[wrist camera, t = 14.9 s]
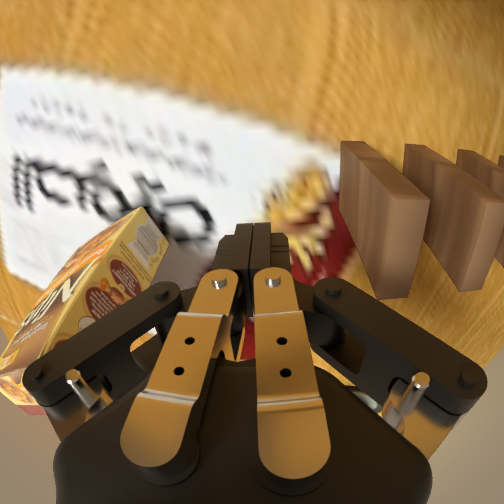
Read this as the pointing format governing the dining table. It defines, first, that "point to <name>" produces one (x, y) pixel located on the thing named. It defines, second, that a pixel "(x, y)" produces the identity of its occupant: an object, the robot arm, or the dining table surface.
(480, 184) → the walnut domino
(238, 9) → the dining table surface
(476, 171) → the walnut domino
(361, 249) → the walnut domino
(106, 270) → the candy box
